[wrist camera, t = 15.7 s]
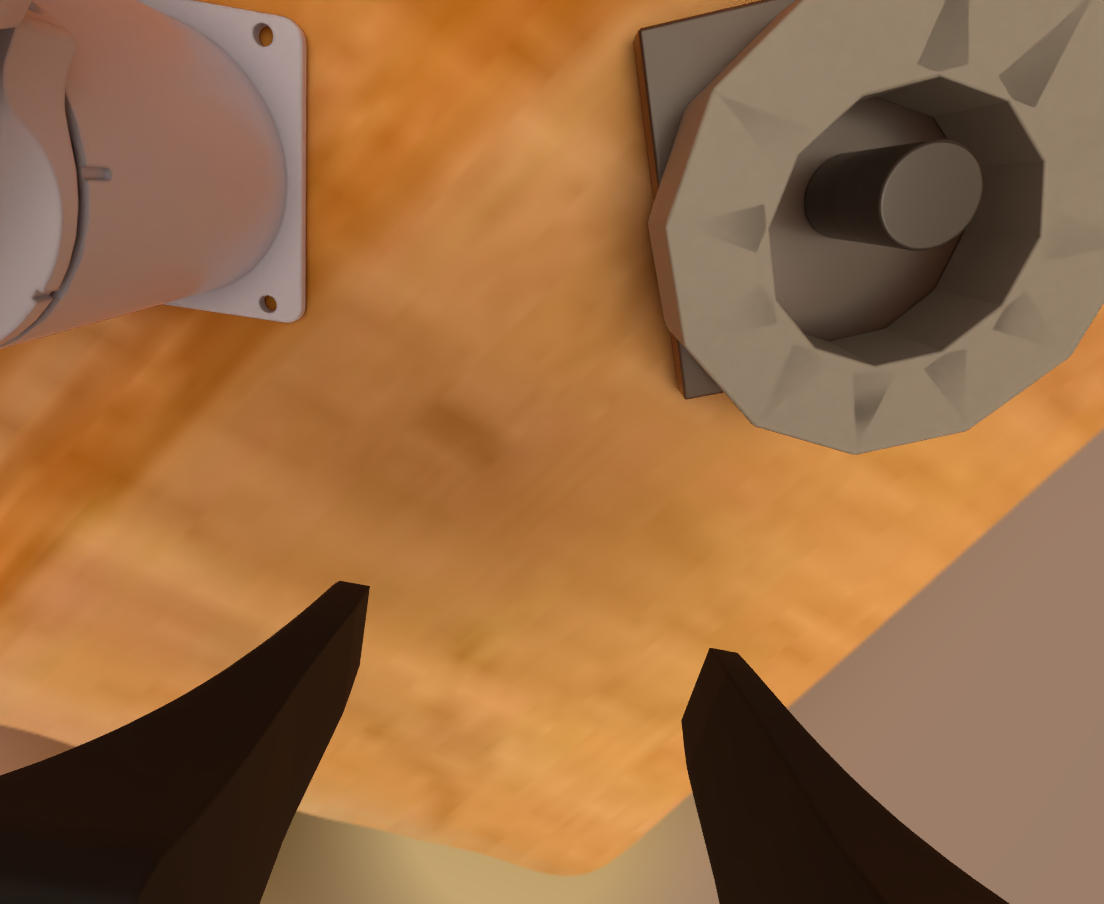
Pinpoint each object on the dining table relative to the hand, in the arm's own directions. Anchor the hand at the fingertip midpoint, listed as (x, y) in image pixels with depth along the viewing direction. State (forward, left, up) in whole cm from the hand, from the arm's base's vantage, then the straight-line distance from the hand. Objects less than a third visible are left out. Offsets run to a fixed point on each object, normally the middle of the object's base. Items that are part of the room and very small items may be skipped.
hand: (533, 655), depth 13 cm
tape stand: (+7, +10, -9) cm, 15 cm away
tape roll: (+7, +9, -8) cm, 14 cm away
